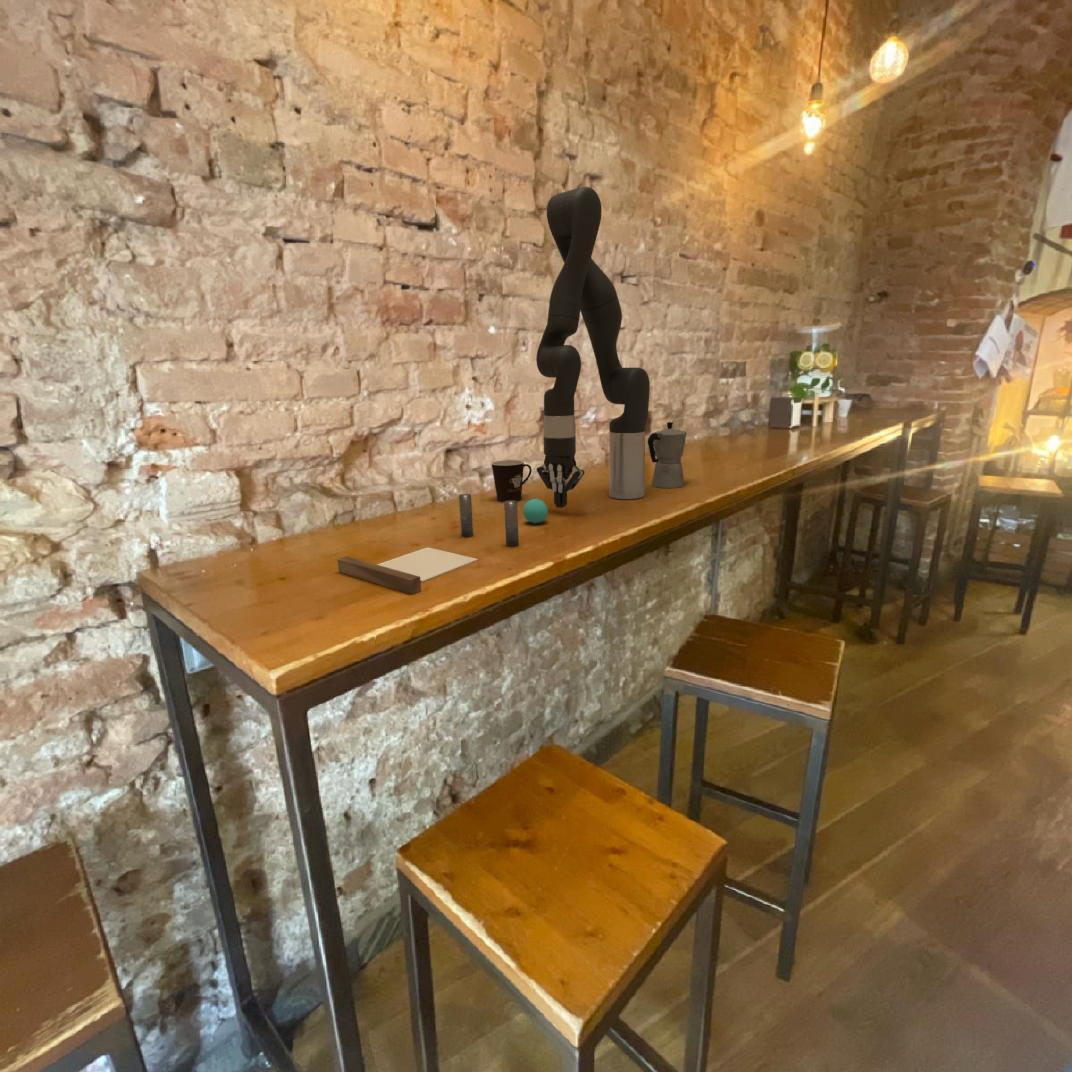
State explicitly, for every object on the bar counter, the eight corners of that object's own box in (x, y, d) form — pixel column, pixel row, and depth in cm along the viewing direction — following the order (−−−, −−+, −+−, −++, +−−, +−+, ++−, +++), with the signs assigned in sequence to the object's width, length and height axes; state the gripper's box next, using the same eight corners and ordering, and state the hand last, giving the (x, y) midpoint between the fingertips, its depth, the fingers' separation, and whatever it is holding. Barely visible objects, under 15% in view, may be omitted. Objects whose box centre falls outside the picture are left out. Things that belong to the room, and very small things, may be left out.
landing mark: (427, 548, 125) (427, 547, 125) (478, 560, 117) (477, 559, 117) (371, 567, 115) (371, 566, 114) (422, 581, 106) (422, 580, 106)
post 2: (511, 542, 127) (509, 499, 125) (521, 544, 126) (519, 501, 123) (503, 545, 125) (501, 502, 123) (513, 547, 124) (511, 504, 121)
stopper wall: (348, 569, 114) (346, 556, 113) (421, 590, 102) (420, 576, 101) (339, 572, 113) (337, 559, 112) (412, 594, 101) (410, 580, 100)
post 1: (467, 533, 135) (464, 493, 132) (475, 535, 133) (473, 494, 131) (458, 536, 133) (456, 495, 130) (467, 538, 131) (464, 496, 129)
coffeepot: (669, 479, 184) (671, 419, 179) (695, 484, 177) (698, 420, 172) (634, 487, 175) (635, 423, 170) (660, 492, 168) (662, 426, 163)
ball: (533, 518, 145) (533, 495, 143) (552, 521, 142) (552, 498, 140) (518, 524, 141) (517, 500, 139) (538, 527, 137) (537, 503, 136)
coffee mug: (497, 504, 160) (495, 466, 157) (490, 497, 168) (488, 461, 165) (539, 500, 163) (538, 463, 160) (531, 494, 171) (530, 458, 168)
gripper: (592, 434, 142) (592, 507, 147) (546, 431, 150) (547, 500, 155) (573, 438, 137) (574, 513, 141) (527, 435, 144) (529, 506, 149)
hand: (560, 506), depth 148 cm, fingers closed
